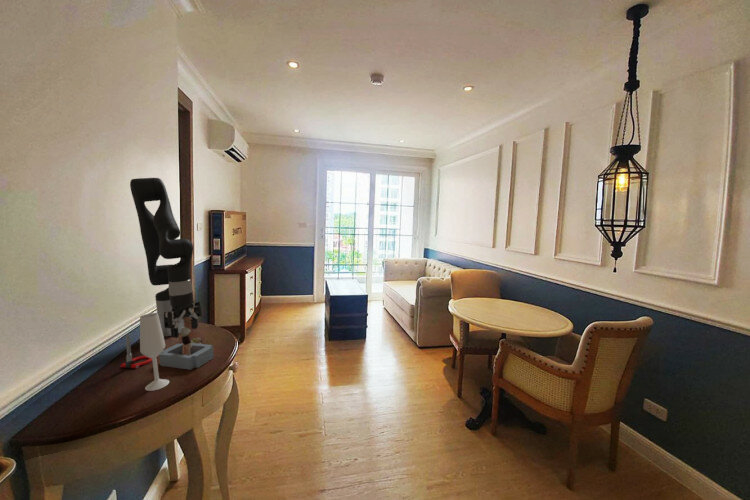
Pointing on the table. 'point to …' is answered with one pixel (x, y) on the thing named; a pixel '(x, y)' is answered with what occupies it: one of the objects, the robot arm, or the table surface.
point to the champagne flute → (152, 346)
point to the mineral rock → (196, 340)
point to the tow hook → (130, 361)
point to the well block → (186, 356)
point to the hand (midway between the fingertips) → (185, 332)
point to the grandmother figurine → (186, 341)
